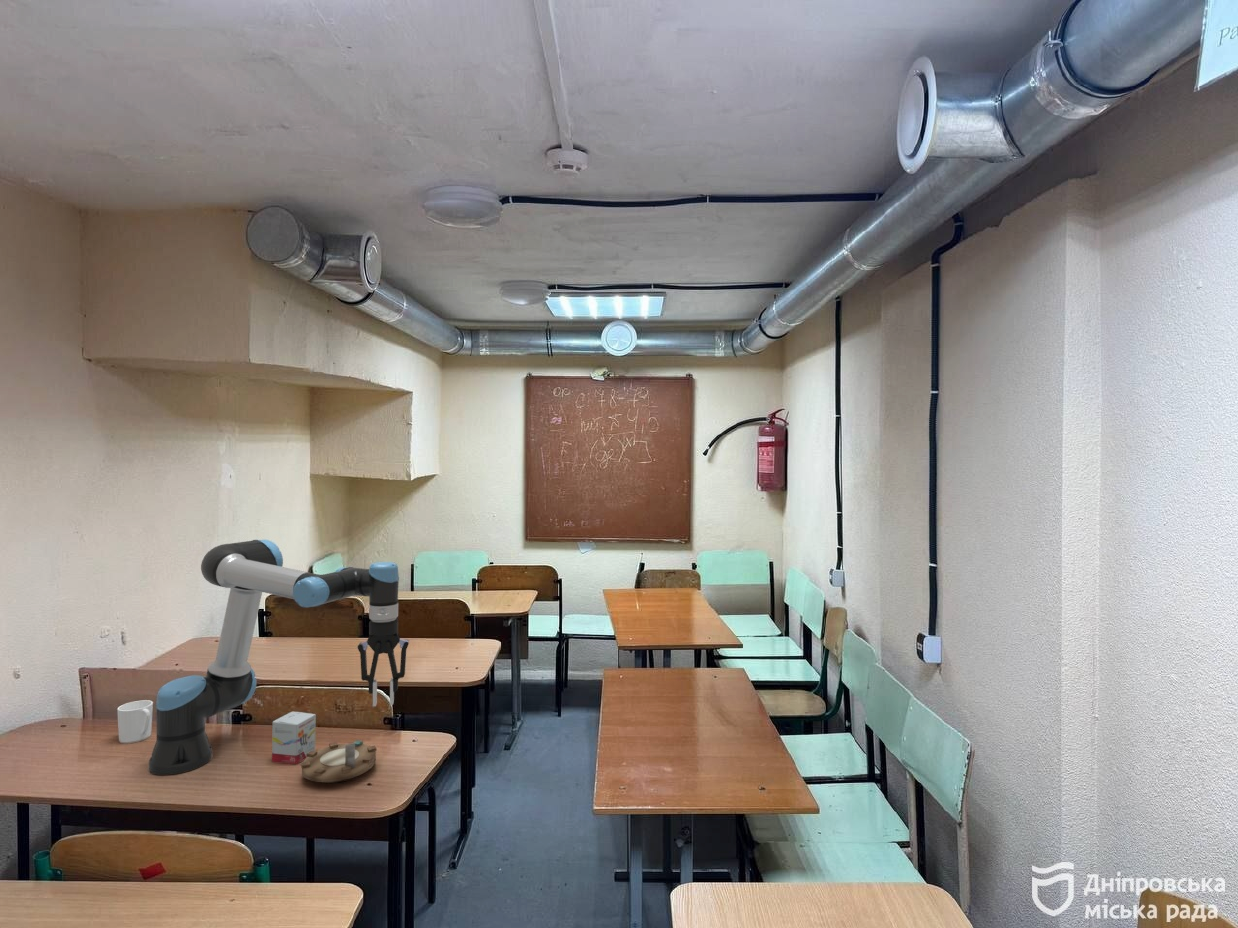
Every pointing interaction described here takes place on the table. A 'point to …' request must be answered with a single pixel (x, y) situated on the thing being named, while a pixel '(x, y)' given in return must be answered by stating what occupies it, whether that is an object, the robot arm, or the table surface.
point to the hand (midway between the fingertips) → (383, 703)
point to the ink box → (293, 737)
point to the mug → (135, 721)
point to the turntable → (338, 762)
